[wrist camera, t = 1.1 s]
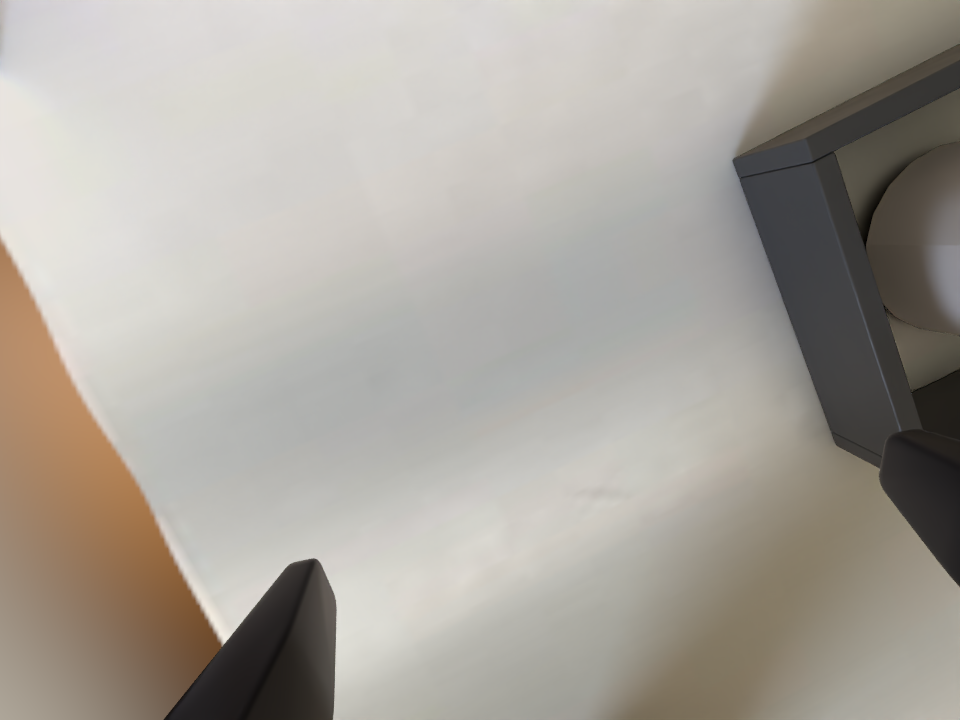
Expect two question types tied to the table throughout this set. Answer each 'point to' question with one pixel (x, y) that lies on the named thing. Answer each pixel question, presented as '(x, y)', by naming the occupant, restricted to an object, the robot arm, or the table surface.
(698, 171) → the table surface
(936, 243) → the can
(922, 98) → the tray
